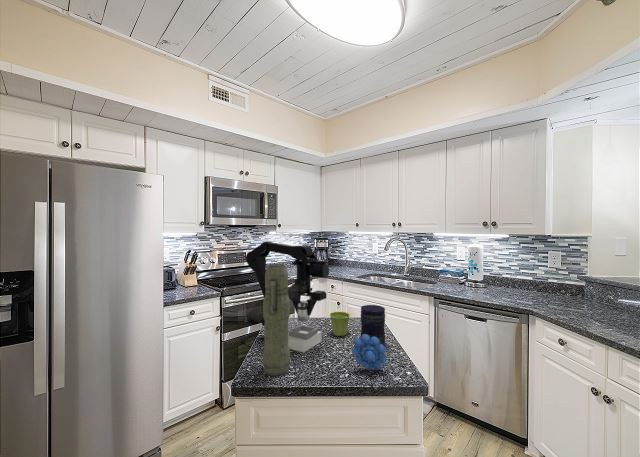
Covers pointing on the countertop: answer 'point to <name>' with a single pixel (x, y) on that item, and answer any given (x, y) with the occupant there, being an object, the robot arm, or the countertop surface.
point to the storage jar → (373, 322)
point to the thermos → (276, 321)
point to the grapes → (369, 352)
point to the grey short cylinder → (302, 311)
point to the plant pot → (339, 322)
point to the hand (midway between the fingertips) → (303, 314)
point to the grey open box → (303, 338)
